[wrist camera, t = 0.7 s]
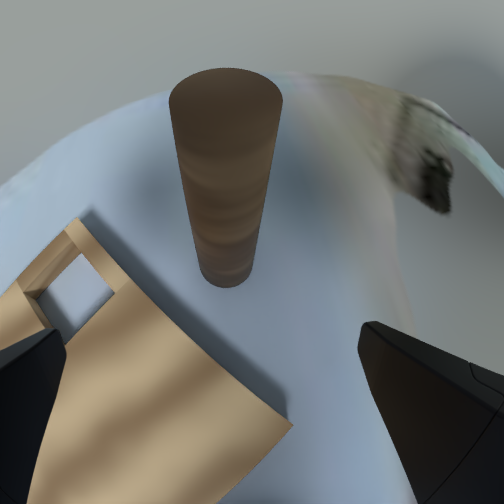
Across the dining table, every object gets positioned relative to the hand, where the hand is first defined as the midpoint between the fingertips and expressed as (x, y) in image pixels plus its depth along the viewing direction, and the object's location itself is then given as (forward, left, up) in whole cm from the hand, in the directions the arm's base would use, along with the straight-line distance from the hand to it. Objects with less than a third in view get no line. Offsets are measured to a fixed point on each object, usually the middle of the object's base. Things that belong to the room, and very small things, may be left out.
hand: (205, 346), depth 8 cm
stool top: (+5, +11, -13) cm, 18 cm away
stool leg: (+5, -6, -13) cm, 15 cm away
